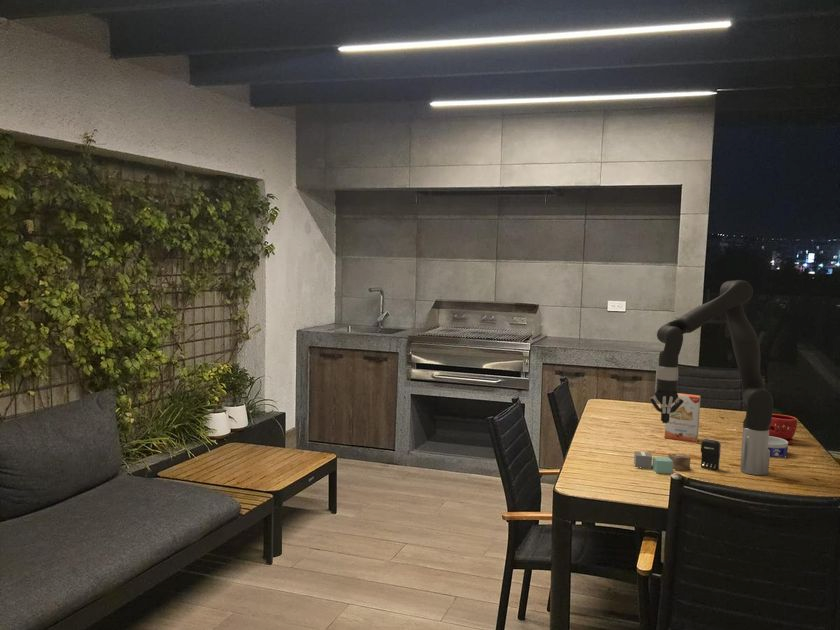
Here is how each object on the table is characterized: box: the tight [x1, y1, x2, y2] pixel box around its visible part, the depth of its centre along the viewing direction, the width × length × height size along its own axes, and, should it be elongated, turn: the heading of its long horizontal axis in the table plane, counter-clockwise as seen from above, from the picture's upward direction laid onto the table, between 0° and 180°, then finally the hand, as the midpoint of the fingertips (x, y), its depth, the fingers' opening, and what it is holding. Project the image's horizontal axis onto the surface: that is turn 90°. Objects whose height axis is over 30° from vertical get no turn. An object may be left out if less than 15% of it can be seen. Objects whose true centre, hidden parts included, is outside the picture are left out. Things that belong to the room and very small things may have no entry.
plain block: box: [651, 456, 674, 475], centre depth 272 cm, size 6×6×5 cm
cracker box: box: [664, 392, 702, 443], centre depth 323 cm, size 14×6×21 cm, turn 62°
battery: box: [700, 438, 722, 471], centre depth 277 cm, size 7×4×11 cm, turn 49°
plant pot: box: [769, 413, 798, 445], centre depth 323 cm, size 13×13×12 cm
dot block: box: [668, 453, 691, 471], centre depth 277 cm, size 6×6×5 cm
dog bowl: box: [768, 436, 789, 458], centre depth 304 cm, size 15×15×6 cm
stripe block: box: [633, 451, 653, 469], centre depth 278 cm, size 6×6×5 cm
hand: (664, 422), depth 270 cm, fingers closed
